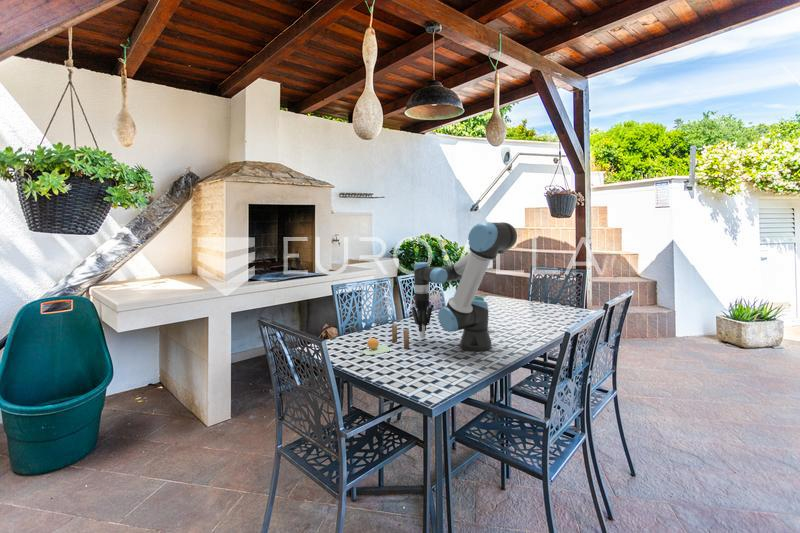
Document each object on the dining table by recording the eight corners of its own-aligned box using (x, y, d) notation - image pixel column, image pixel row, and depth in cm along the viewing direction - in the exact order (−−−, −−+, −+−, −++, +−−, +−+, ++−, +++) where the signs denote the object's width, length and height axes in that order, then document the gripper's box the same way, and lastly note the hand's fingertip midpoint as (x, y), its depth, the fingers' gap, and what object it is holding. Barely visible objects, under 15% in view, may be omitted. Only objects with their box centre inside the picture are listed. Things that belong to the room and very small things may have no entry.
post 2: (410, 348, 186) (409, 330, 185) (405, 349, 184) (405, 330, 184) (407, 346, 188) (407, 329, 187) (402, 347, 187) (402, 329, 186)
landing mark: (394, 350, 182) (394, 350, 182) (367, 355, 176) (367, 355, 176) (381, 343, 195) (381, 343, 195) (356, 347, 188) (356, 347, 188)
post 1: (398, 341, 197) (397, 324, 196) (393, 342, 196) (393, 325, 195) (395, 340, 199) (395, 323, 198) (391, 341, 198) (391, 324, 197)
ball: (369, 351, 181) (380, 350, 184) (370, 340, 181) (381, 339, 184) (364, 348, 186) (374, 347, 189) (365, 337, 186) (375, 336, 188)
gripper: (428, 290, 202) (429, 333, 204) (407, 292, 196) (408, 337, 198) (436, 292, 195) (437, 337, 197) (414, 294, 189) (415, 341, 191)
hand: (422, 337), depth 198 cm, fingers closed
